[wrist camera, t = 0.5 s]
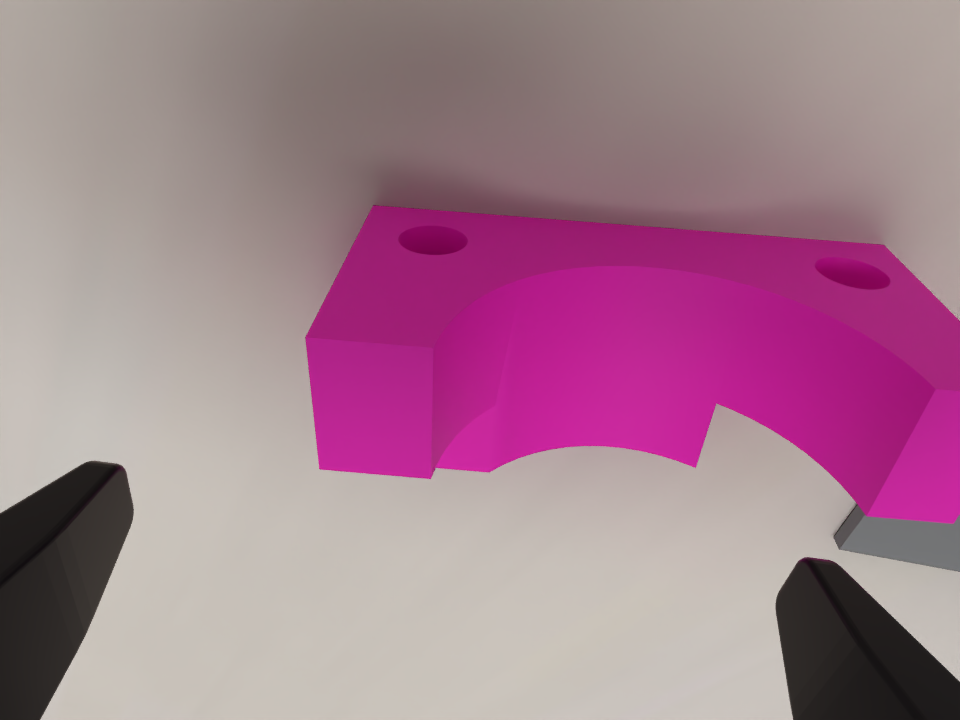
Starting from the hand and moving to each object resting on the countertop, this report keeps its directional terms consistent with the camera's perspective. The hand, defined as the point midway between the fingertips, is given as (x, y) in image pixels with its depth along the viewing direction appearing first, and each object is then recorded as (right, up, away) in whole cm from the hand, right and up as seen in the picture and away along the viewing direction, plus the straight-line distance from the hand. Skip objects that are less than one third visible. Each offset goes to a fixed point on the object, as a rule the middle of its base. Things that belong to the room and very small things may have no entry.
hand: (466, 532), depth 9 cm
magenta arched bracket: (+4, +4, +13) cm, 14 cm away
